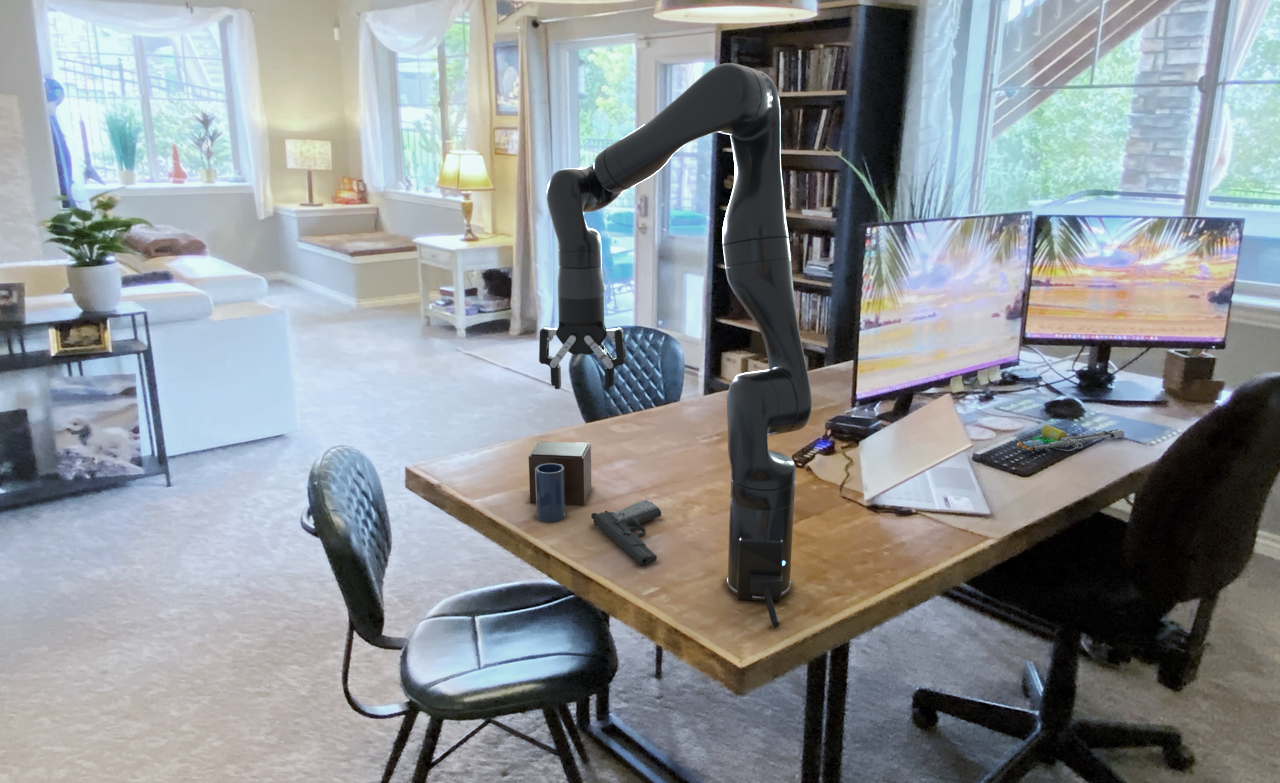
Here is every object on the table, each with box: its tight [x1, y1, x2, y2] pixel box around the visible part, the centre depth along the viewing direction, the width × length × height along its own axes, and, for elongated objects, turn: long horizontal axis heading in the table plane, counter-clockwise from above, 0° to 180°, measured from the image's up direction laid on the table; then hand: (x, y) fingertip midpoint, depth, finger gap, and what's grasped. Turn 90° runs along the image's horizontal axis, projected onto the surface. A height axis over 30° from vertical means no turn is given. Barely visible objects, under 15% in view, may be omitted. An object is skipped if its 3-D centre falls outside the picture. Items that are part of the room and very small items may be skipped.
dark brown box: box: [528, 440, 592, 506], centre depth 170 cm, size 8×10×9 cm
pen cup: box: [535, 463, 567, 523], centre depth 161 cm, size 5×5×9 cm
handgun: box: [590, 499, 662, 566], centre depth 154 cm, size 19×2×12 cm
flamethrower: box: [1016, 424, 1125, 452], centre depth 200 cm, size 29×3×10 cm
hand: (583, 388), depth 156 cm, fingers open, 8 cm apart
